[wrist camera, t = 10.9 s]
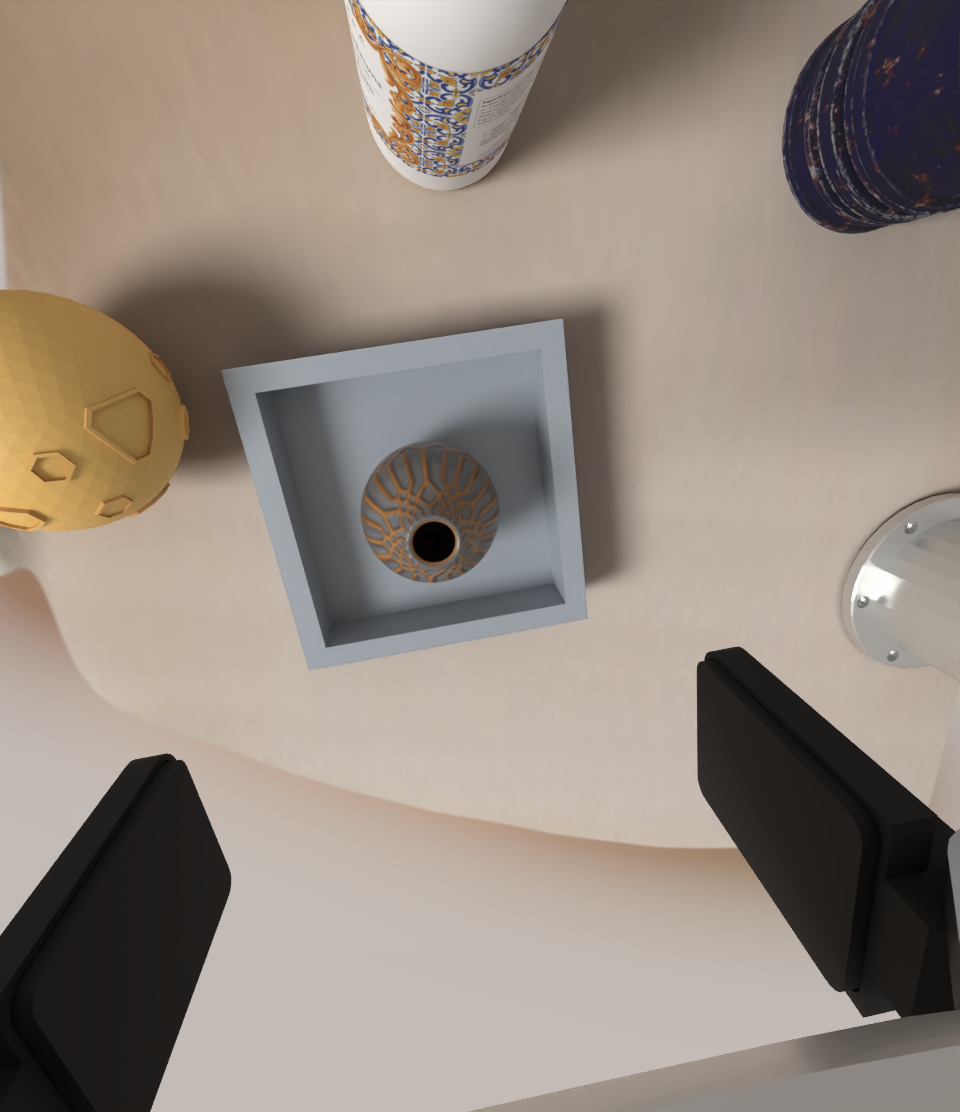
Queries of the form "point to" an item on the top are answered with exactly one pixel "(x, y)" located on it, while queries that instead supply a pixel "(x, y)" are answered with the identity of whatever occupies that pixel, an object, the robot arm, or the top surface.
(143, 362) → the stress ball
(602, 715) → the top surface
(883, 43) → the storage jar
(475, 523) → the vase
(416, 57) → the bath foam
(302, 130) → the top surface
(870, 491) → the top surface
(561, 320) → the bin
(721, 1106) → the robot arm
